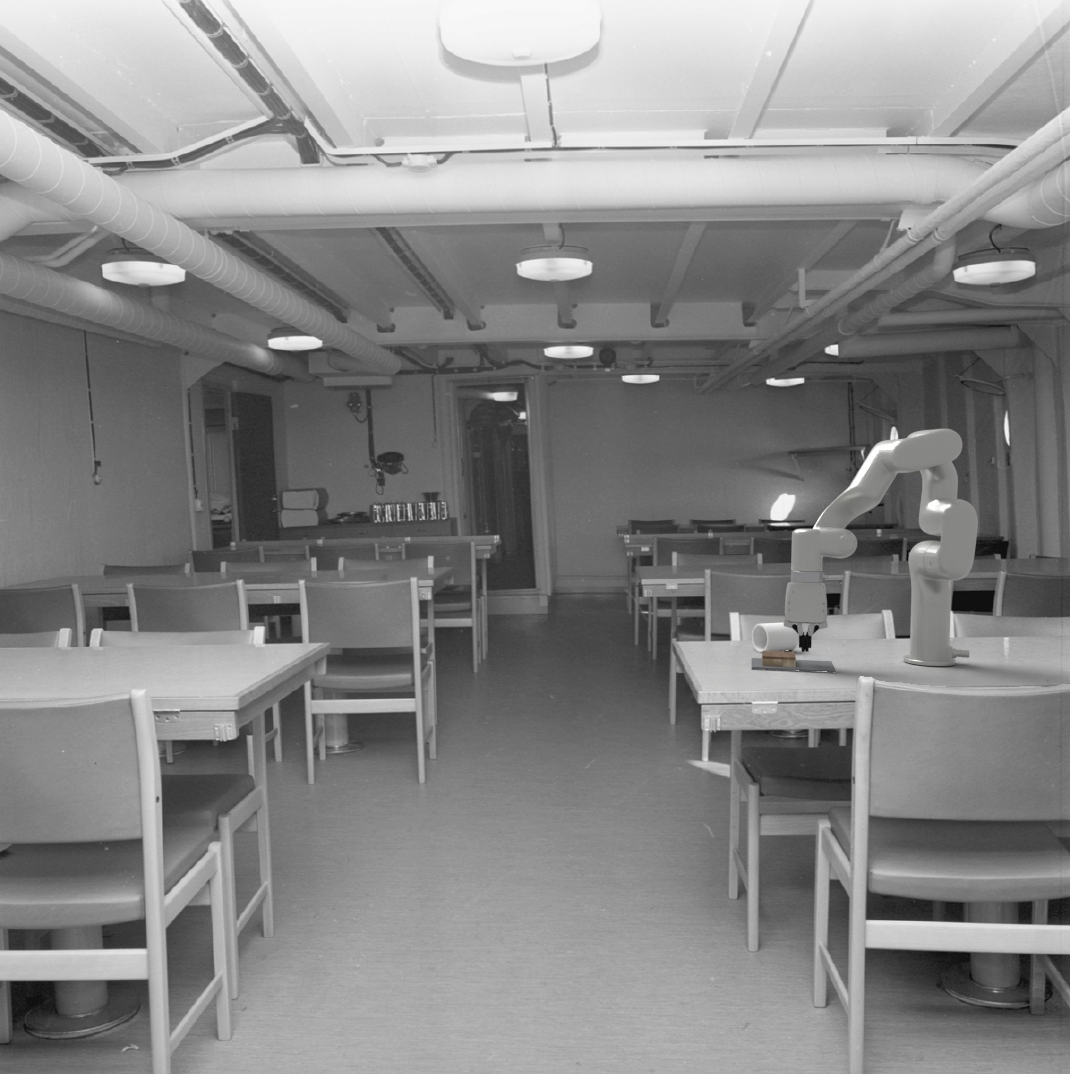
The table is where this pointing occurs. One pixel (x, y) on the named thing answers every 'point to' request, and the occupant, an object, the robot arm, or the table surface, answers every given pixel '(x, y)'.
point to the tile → (778, 658)
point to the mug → (774, 637)
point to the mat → (797, 665)
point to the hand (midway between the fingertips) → (804, 650)
